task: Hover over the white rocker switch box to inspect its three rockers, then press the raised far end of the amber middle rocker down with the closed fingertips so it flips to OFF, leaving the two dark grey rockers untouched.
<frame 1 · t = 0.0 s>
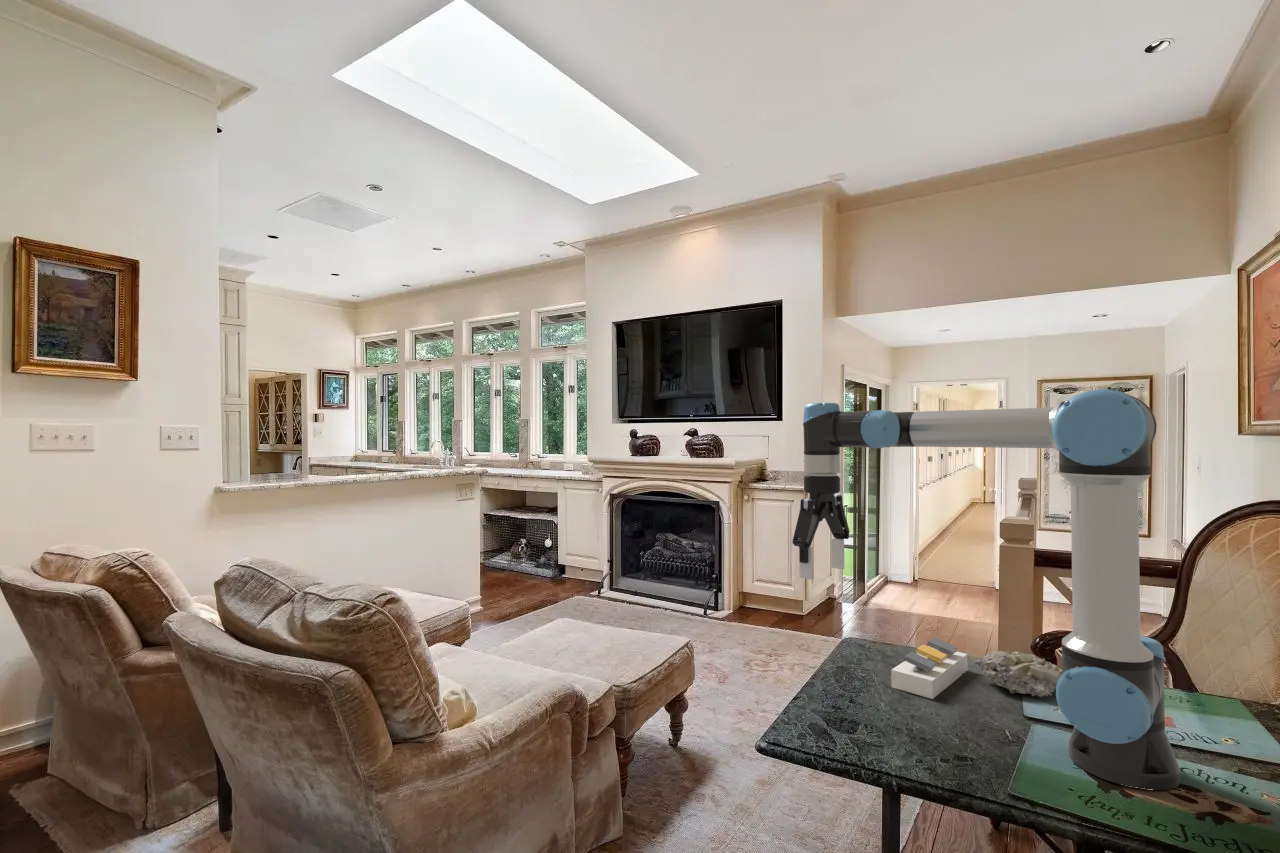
hand: (822, 573, 133), 28 cm above the table, fingers open, 13 cm apart
geode: (1022, 690, 139), on the table
grey rocker 2: (942, 646, 150), point 6 cm above the table, hinge at -12.0°
amber rocker: (931, 653, 145), point 6 cm above the table, hinge at -12.0°
white rocker switch box: (930, 678, 146), on the table
grey rocker 1: (920, 661, 141), point 6 cm above the table, hinge at -12.0°
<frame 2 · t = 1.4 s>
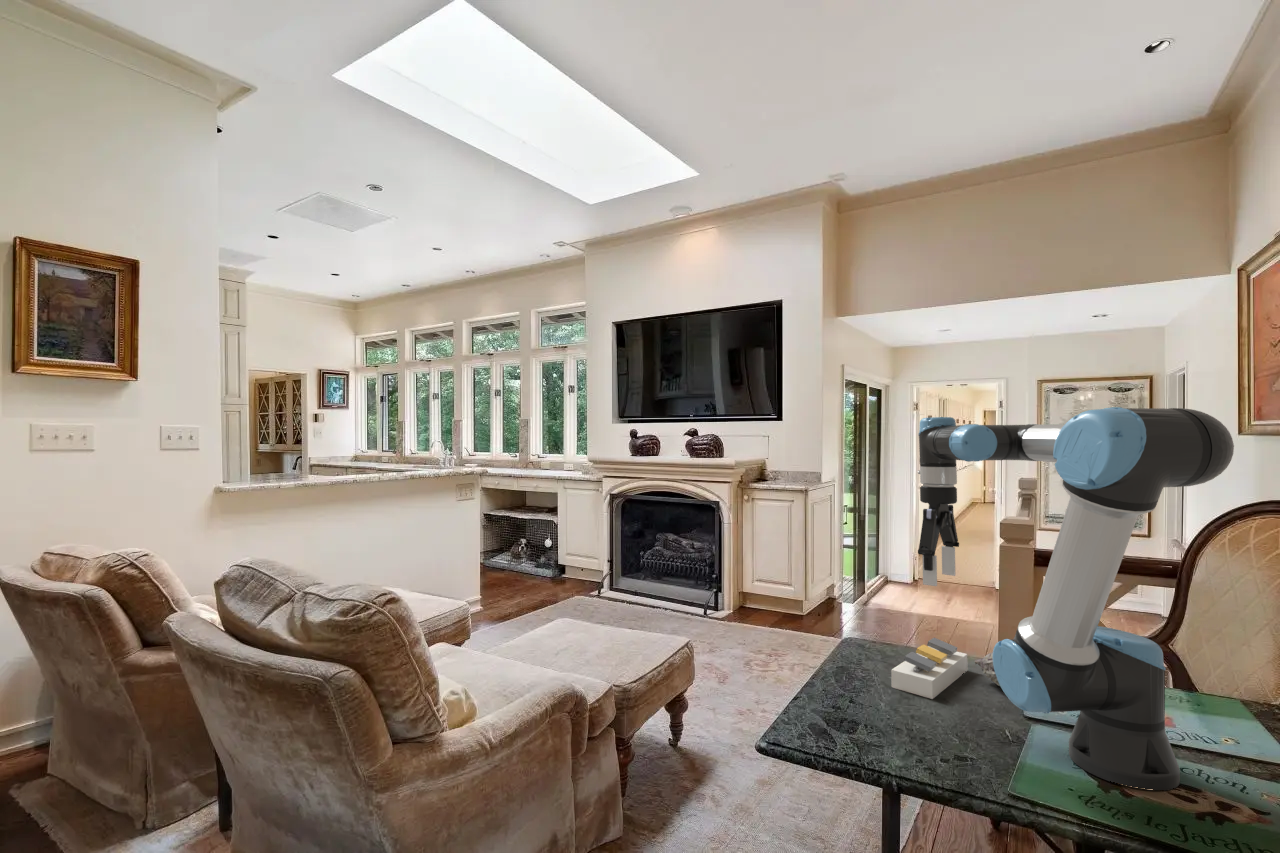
hand: (939, 579, 139), 25 cm above the table, fingers open, 13 cm apart
nothing on the table moved.
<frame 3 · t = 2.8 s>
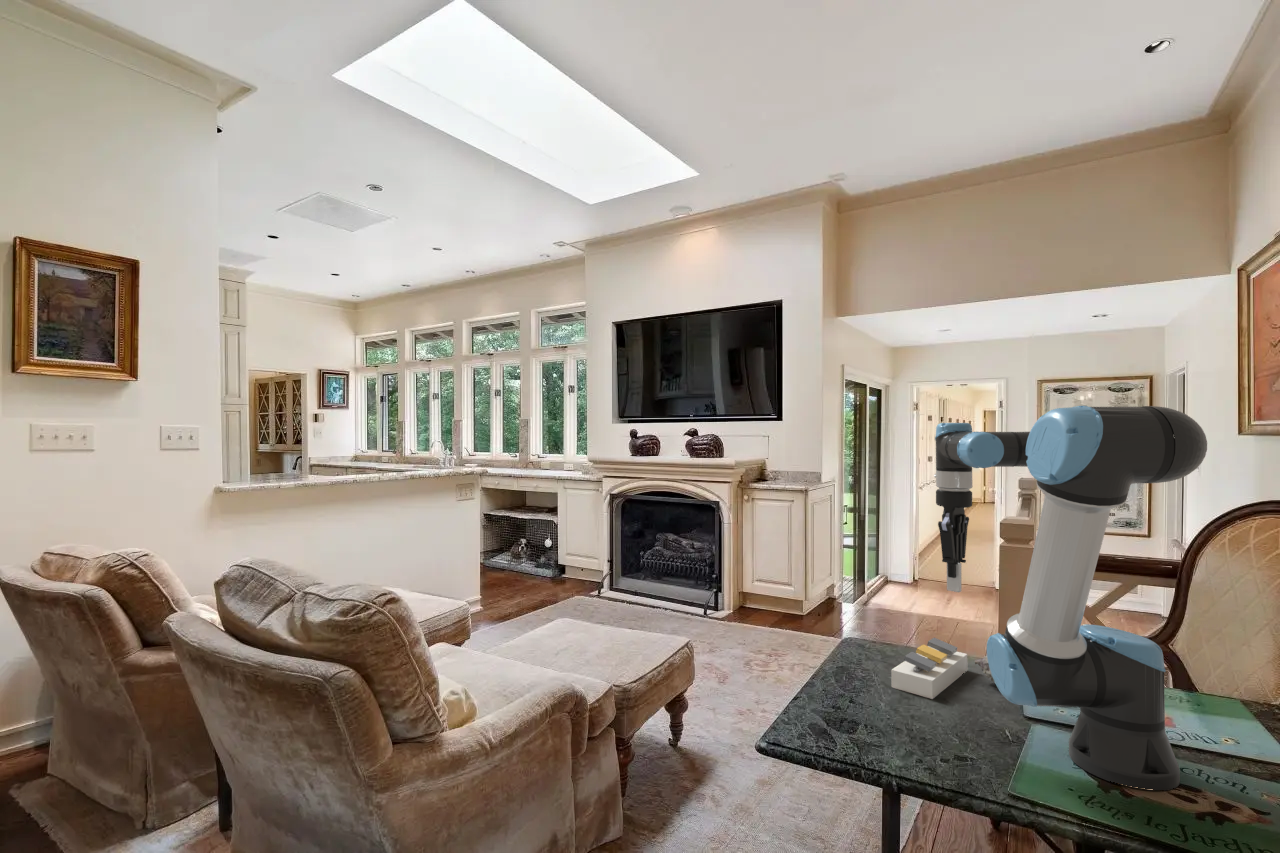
hand: (954, 590, 143), 22 cm above the table, fingers closed
nothing on the table moved.
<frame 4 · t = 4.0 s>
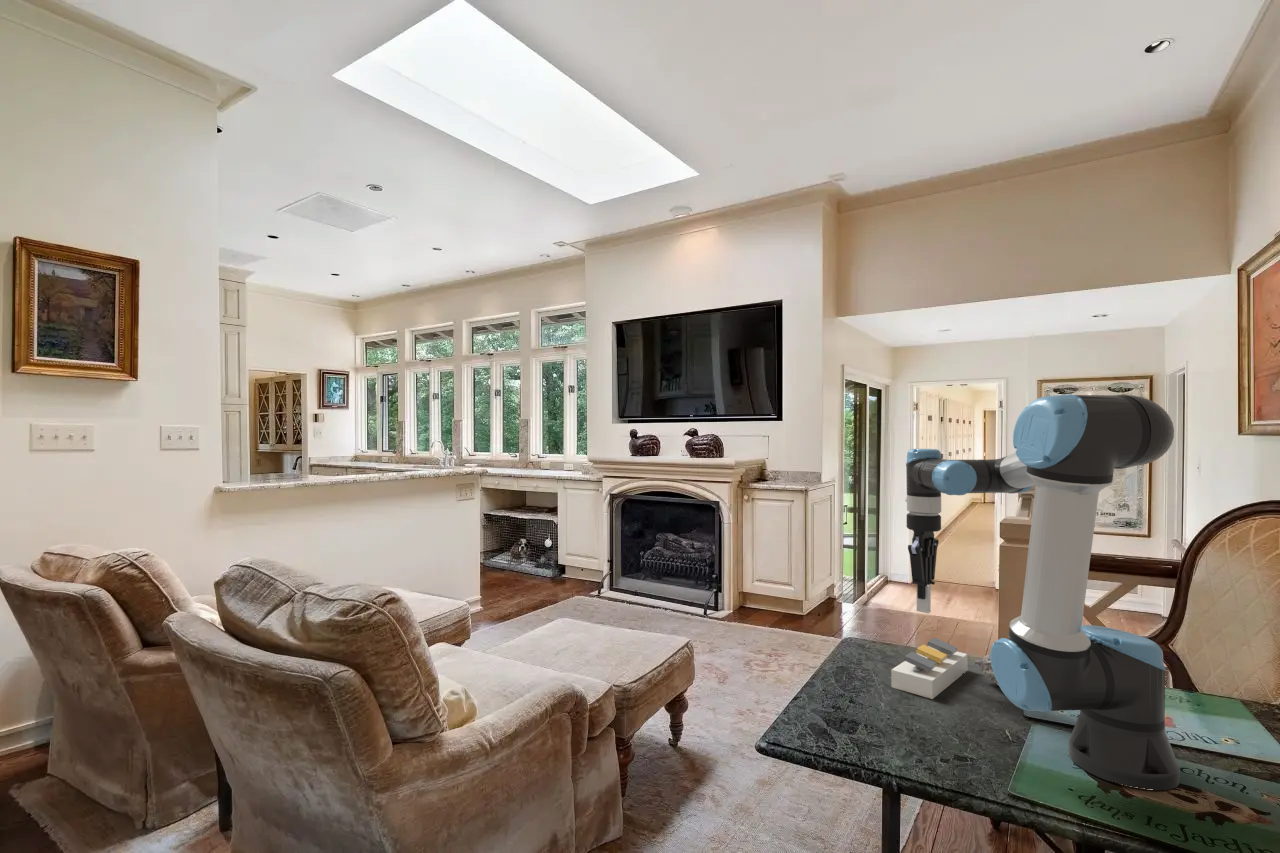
hand: (923, 611, 147), 15 cm above the table, fingers closed
nothing on the table moved.
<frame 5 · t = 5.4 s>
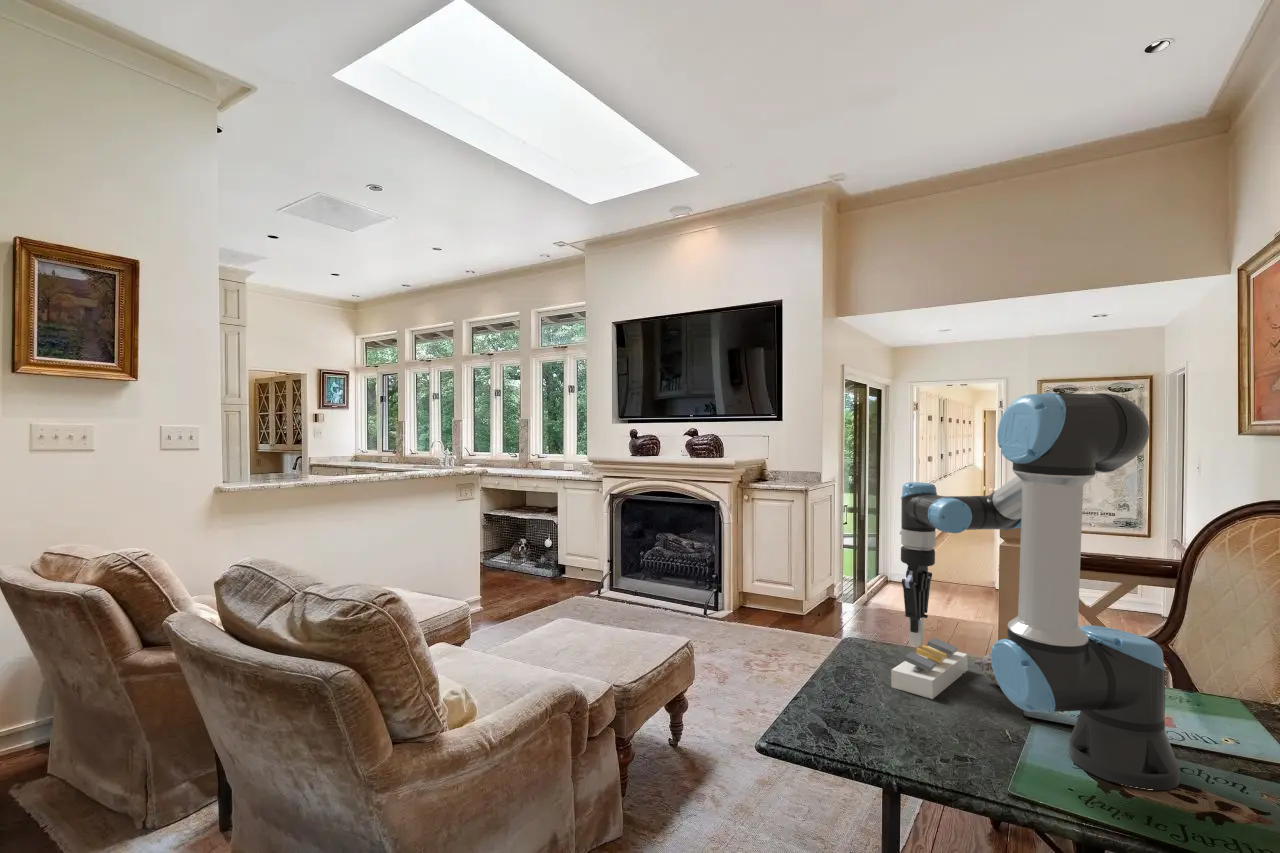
hand: (916, 644, 148), 7 cm above the table, fingers closed
amber rocker: (931, 653, 146), point 6 cm above the table, hinge at -9.5°, touching gripper
everything else where it was.
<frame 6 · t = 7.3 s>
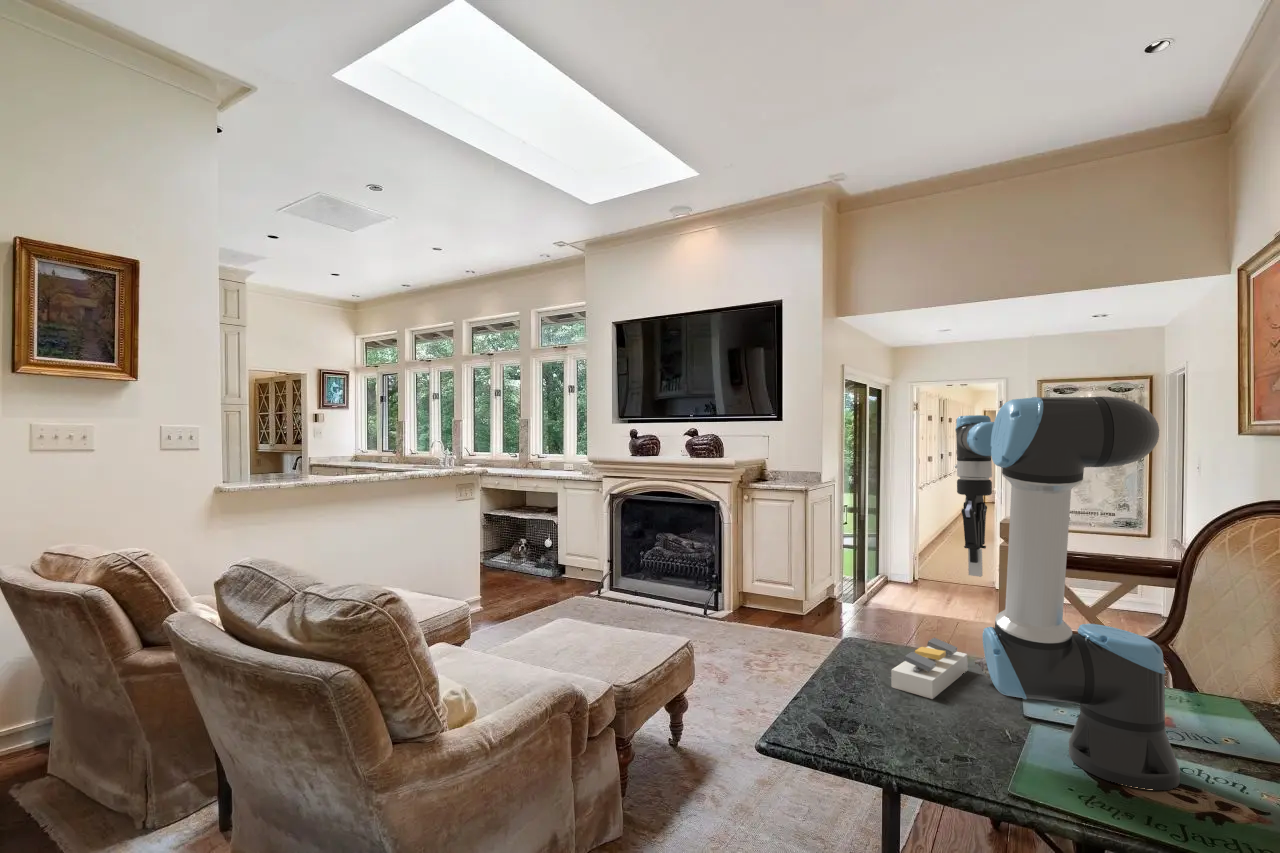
hand: (975, 575, 150), 23 cm above the table, fingers closed
amber rocker: (930, 653, 146), point 6 cm above the table, hinge at 2.7°
everything else where it was.
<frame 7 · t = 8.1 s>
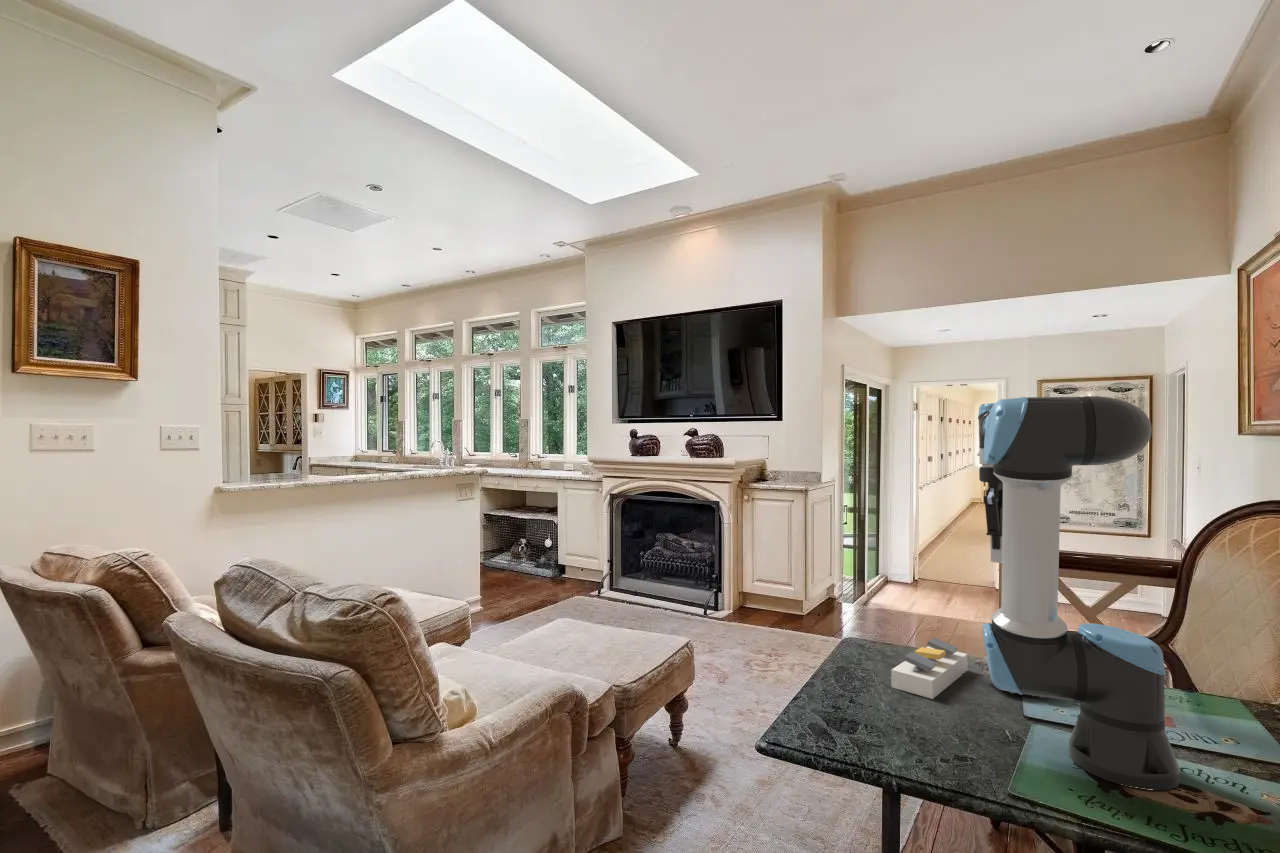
hand: (997, 562, 151), 26 cm above the table, fingers closed
amber rocker: (930, 653, 146), point 6 cm above the table, hinge at 5.4°
everything else where it was.
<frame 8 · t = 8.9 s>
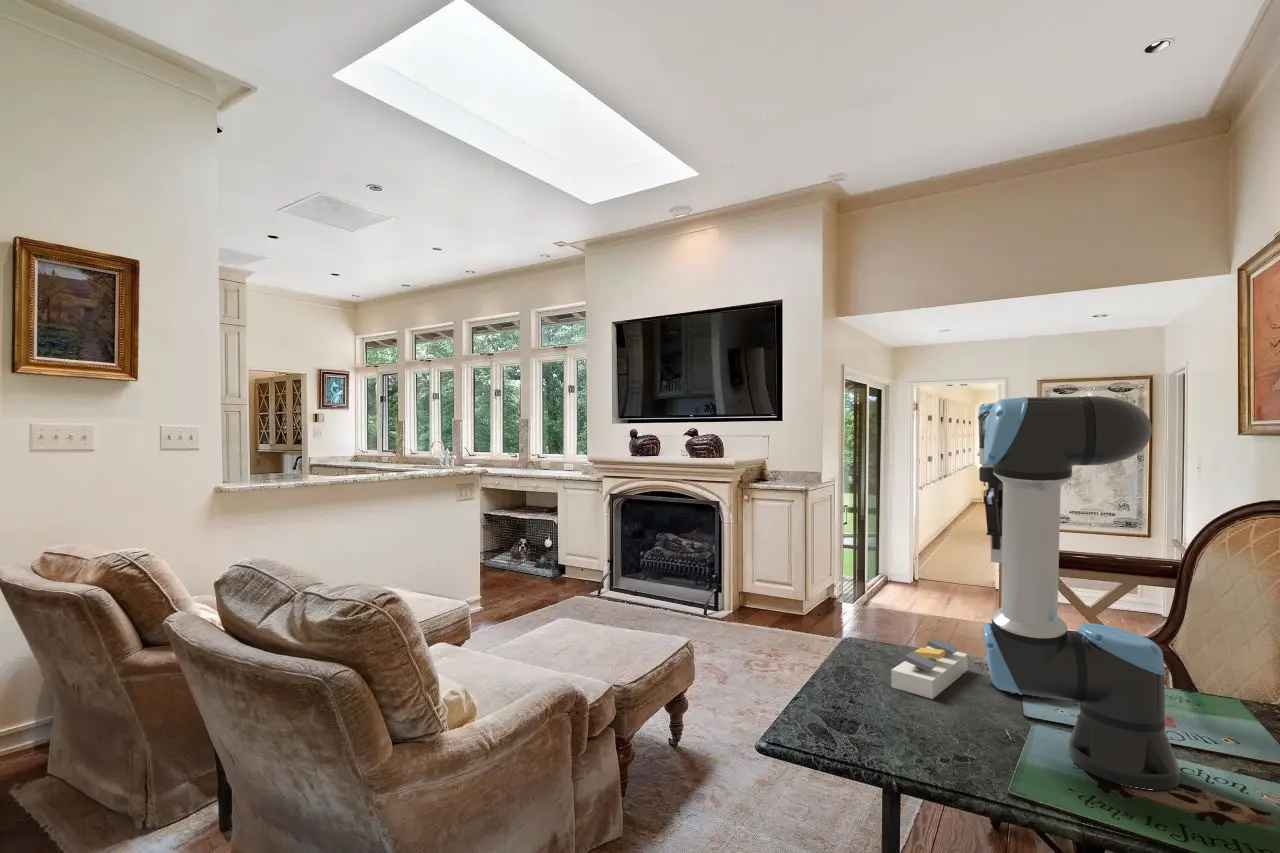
hand: (997, 562, 151), 26 cm above the table, fingers closed
amber rocker: (929, 653, 146), point 6 cm above the table, hinge at 7.4°
everything else where it was.
at the end: amber rocker at +8° (first picture: -12°); grey rocker 2 at -12° (first picture: -12°); grey rocker 1 at -12° (first picture: -12°) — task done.
